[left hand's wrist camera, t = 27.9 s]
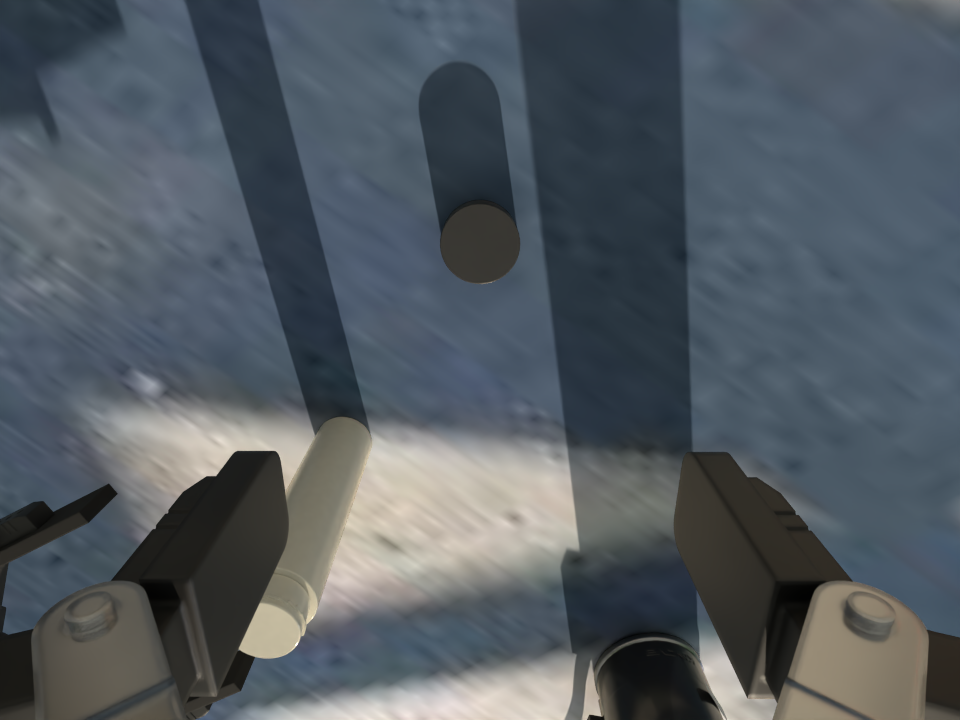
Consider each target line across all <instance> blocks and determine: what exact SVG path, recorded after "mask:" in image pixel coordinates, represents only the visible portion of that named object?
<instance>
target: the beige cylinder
mask: <svg viewBox="0 0 960 720" xmlns="http://www.w3.org/2000/svg"><path fill="white" fill-rule="evenodd" d="M371 448H372V439H371V435H370V433H369V431H368V430H367V428H366V427H365V426H364V425H363V424H362V423H360V422H359V421H357V420H355V419H352V418H348V417H336V418H332V419H330V420H328V421H326V422H325V423H324V424H322V426H321V427H320V428H319V430H318V432H317V434H316V436H315V438H314V439H313V441H312V443H311V445H310V447H309V449H308V451H307V453H306V454H305V456H304V458H303V460H302V462H301V464H300V466H299V468H298V469H297V471H296V473H295V475H294V477H293V479H292V481H291V483H290V484H289V486H288V488H287V490H286V492H285V494H286V501H287V508H288V515H289V532H288V539H287V543H286V547H285V549H284V552H283V554H282V556H281V558H280V560H279V563H278V565H277V567H276V569H275V571H274V573H273V576H272V578H271V580H270V582H269V584H268V586H267V588H266V591H265V593H264V595H263V597H262V599H261V601H260V604H259V606H258V608H257V610H256V612H255V614H254V617H253V619H252V621H251V623H250V625H249V627H248V630H247V632H246V634H245V636H244V638H243V640H242V643H241V645H240V647H239V650H241V651H242V652H244V653H246V654H248V655H251V656H254V657H259V658H276V657H280V656H283V655H286V654H287V653H289V652H291V651H292V650H293V649H294V648H295V647H296V646H297V644H298V643H299V640H300V638H301V636H304V633H305V630H306V627H307V626H306V624H307V623H308V622H310V621H311V619H312V618H313V617H314V615H315V613H316V611H317V608H318V605H319V602H320V599H321V596H322V593H323V590H324V588H325V585H326V582H327V579H328V576H329V573H330V570H331V567H332V564H333V561H334V558H335V555H336V552H337V549H338V546H339V543H340V540H341V537H342V534H343V531H344V528H345V525H346V522H347V519H348V516H349V513H350V511H351V508H352V505H353V502H354V499H355V496H356V493H357V490H358V487H359V484H360V481H361V478H362V475H363V472H364V469H365V466H366V463H367V460H368V457H369V454H370V451H371Z"/></svg>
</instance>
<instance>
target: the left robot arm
mask: <svg viewBox="0 0 960 720" xmlns="http://www.w3.org/2000/svg"><path fill="white" fill-rule="evenodd" d="M168 511H169V512H168V514H165V515H164V516H163V517H162V519H161V520H160V521H159V522H158V524H157V525H156V529H153V530H152V531H151V532H150V533H149V535H148V536H147V537H146V538H145V540H144V541H143V542H142V543H141V544H140V546H139V547H138V548H137V549H136V551H135V552H134V553H133V554H132V556H131V557H130V558H129V559H128V560H127V562H126V563H125V564H124V565H123V567H122V568H121V569H120V570H119V572H118V573H117V574H116V575H115V576H114V578H113V579H112V580H111V581H109V582H103V583H99V584H95V585H92V586H89V587H86V588H84V589H81V590H79V591H77V592H75V593H73V594H71V595H69V596H67V597H66V598H64V599H62V600H61V601H59V602H58V603H57V604H55V605H54V606H53V607H51V608H50V609H49V610H48V611H47V612H46V613H45V614H44V615H43V616H42V617H41V618H40V620H39V621H38V622H37V624H36V626H35V627H34V629H31V630H27V631H23V632H19V633H14V634H10V635H6V636H1V637H0V720H187V716H186V713H185V710H184V706H185V704H186V702H187V700H188V698H189V697H217V694H218V692H219V690H220V688H221V686H222V684H223V681H224V679H225V677H226V675H227V673H228V671H229V668H230V666H231V664H232V662H233V660H234V658H235V655H236V653H237V651H238V649H239V647H240V645H241V643H242V640H243V638H244V636H245V634H246V632H247V630H248V627H249V625H250V623H251V621H252V619H253V617H254V614H255V612H256V610H257V608H258V606H259V604H260V601H261V599H262V597H263V595H264V593H265V591H266V588H267V586H268V584H269V582H270V580H271V578H272V576H273V573H274V571H275V569H276V567H277V565H278V563H279V560H280V558H281V556H282V554H283V552H284V549H285V547H286V543H287V539H288V532H289V515H288V508H287V501H286V494H285V487H284V481H283V474H282V467H281V461H280V457H279V455H278V453H277V452H276V451H236V452H235V453H234V454H233V455H232V456H231V457H230V459H229V460H228V461H227V463H226V464H225V465H224V467H223V468H222V469H221V470H220V472H219V473H218V474H217V476H206V477H205V478H203V479H202V480H200V481H199V482H197V483H196V484H194V485H193V486H191V487H190V488H188V489H187V490H185V491H184V492H183V493H182V494H181V495H180V497H179V498H178V499H177V500H176V501H175V503H174V504H173V505H172V506H171V508H170V509H169V510H168ZM674 534H675V540H676V545H677V548H678V551H679V553H680V555H681V557H682V559H683V562H684V564H685V566H686V568H687V570H688V572H689V574H690V576H691V579H692V581H693V583H694V585H695V587H696V589H697V591H698V594H699V596H700V598H701V600H702V602H703V604H704V606H705V609H706V611H707V613H708V615H709V617H710V619H711V621H712V623H713V626H714V628H715V630H716V632H717V634H718V636H719V638H720V641H721V643H722V645H723V647H724V649H725V651H726V653H727V655H728V658H729V660H730V662H731V664H732V666H733V668H734V670H735V673H736V675H737V677H738V679H739V681H740V683H741V685H742V687H743V690H744V692H745V694H746V696H747V698H748V699H775V700H776V702H777V703H778V704H777V707H776V710H775V713H774V716H773V720H960V638H959V637H955V636H950V635H946V634H942V633H937V632H933V631H930V630H926V627H925V626H924V624H923V622H922V621H921V620H920V618H919V617H918V616H917V615H916V614H915V613H914V612H913V611H912V610H911V609H910V608H909V607H907V606H906V605H905V604H903V603H902V602H901V601H899V600H898V599H896V598H894V597H893V596H891V595H889V594H887V593H885V592H883V591H881V590H879V589H876V588H874V587H871V586H868V585H865V584H861V583H857V582H853V581H852V580H851V578H850V577H849V576H848V575H847V574H846V572H845V571H844V570H843V569H842V568H841V566H840V565H839V564H838V563H837V561H836V560H835V559H834V558H833V557H832V555H831V554H830V553H829V552H828V550H827V549H826V548H825V547H824V546H823V544H822V543H821V542H820V541H819V539H818V538H817V537H816V536H815V535H814V533H813V532H812V531H809V530H808V526H807V525H806V524H805V522H804V521H803V520H802V519H801V518H800V516H799V515H796V514H795V510H794V509H793V508H792V507H791V505H790V504H789V503H788V502H787V501H786V499H785V498H784V497H783V496H782V494H781V493H779V492H778V491H776V490H775V489H773V488H772V487H770V486H769V485H767V484H766V483H764V482H763V481H761V480H760V479H758V478H757V477H747V476H746V475H745V473H744V472H743V471H742V470H741V468H740V467H739V466H738V464H737V463H736V462H735V460H734V459H733V458H732V456H731V455H730V454H729V453H727V452H687V453H686V454H685V456H684V458H683V462H682V468H681V475H680V482H679V488H678V495H677V502H676V509H675V515H674ZM594 681H595V686H596V690H597V693H598V695H599V707H600V711H601V716H602V717H600V716H595V715H589V717H588V719H587V720H723V718H722V715H721V713H720V711H721V712H722V714H723V715H724V717H725V718H726V716H725V714H724V711H723V709H722V707H721V706H720V704H719V703H718V701H717V700H716V698H715V696H714V695H713V693H712V691H711V689H710V686H709V684H708V681H707V679H706V676H705V674H704V670H703V666H702V663H701V661H700V658H699V656H698V654H697V652H696V651H695V650H694V649H693V647H692V646H690V645H689V644H688V643H687V642H685V641H683V640H682V639H680V638H677V637H675V636H672V635H667V634H661V633H645V634H639V635H634V636H631V637H628V638H625V639H623V640H621V641H619V642H617V643H615V644H614V645H612V646H611V647H610V648H609V649H607V650H606V651H605V652H604V653H603V655H602V656H601V657H600V659H599V660H598V662H597V664H596V667H595V671H594ZM718 707H719V708H718ZM719 709H720V710H719ZM726 720H727V719H726Z"/></svg>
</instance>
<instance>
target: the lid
mask: <svg viewBox="0 0 960 720" xmlns="http://www.w3.org/2000/svg"><path fill="white" fill-rule="evenodd" d="M440 248H441V254H442V257H443V260H444V262H445V264H446V266H447V267H448V268H449V270H450V271H451V272H452V273H453V274H454V275H456V276H457V277H459V278H460V279H462V280H464V281H467V282H470V283H475V284H486V283H491V282H494V281H496V280H498V279H500V278H502V277H503V276H505V275H506V274H507V273H508V272H509V271H510V270H511V269H512V267H513V266H514V264H515V262H516V260H517V258H518V255H519V250H520V238H519V233H518V230H517V227H516V224H515V222H514V220H513V218H512V217H511V215H510V214H509V213H508V212H507V211H506V210H505V209H504V208H503V207H501V206H500V205H498V204H496V203H494V202H491V201H486V200H474V201H469V202H467V203H464V204H462V205H460V206H459V207H458V208H456V209H455V210H454V211H453V212H452V213H451V214H450V216H449V217H448V219H447V220H446V223H445V225H444V228H443V230H442V234H441V239H440Z"/></svg>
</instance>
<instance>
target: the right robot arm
mask: <svg viewBox="0 0 960 720" xmlns="http://www.w3.org/2000/svg"><path fill="white" fill-rule="evenodd" d="M116 495H117V492H116V491H115V490H114V489H113V488H112V487H111V486H110V484H107V485H105V486H104V487H102V488H100V489H98V490H96V491H94V492H92V493H90V494H88V495H86V496H84V497H82V498H80V499H78V500H76V501H74V502H72V503H70V504H68V505H66V506H64V507H62V508H60V509H58V510H56V511H54V512H53V511H52V510H51V509H50V508H49V507H48V506H47V505H46V504H45V503H44V501H40V502H33V503H31V504H29V505H27V506H26V507H23V508H21V509H19V510H17V511H15V512H14V513H12V514H10V515H8V516H6V517H4V518H2V519H0V637H1V636H6V635H8V634H6V633H3V632H2V631H3V625H4V619H5V613H6V607H3V606H2V600H3V594H4V588H5V582H6V575H7V569H8V563H9V562H11V561H13V560H15V559H17V558H19V557H21V556H23V555H25V554H27V553H29V552H31V551H33V550H35V549H37V548H39V547H41V546H43V545H45V544H47V543H49V542H51V541H53V540H55V539H57V538H59V537H61V536H63V535H65V534H67V533H69V532H71V531H73V530H75V529H77V528H79V527H81V526H83V525H85V524H87V523H89V522H90V521H91V520H92V519H93V518H94V517H95V516H96V515H97V514H98V513H99V512H100V511H101V510H102V509H103V508H104V507H105V506H106V505H107V504H108V503H109V502H110V501H111V500H112V499H113V498H114V497H115V496H116ZM254 658H255V657H254V656H251V655H248V654H246V653H244V652H242V651H241V650H240V651H237V653H236V655H235V658H234V660H233V662H232V664H231V666H230V668H229V671H228V673H227V675H226V677H225V679H224V681H223V684H222V686H221V688H220V690H219V692H218V694H217V697H189V698H188V700H187V702H186V704H185V706H184V710H185V713H186V716H187V720H195V719H198V718H200V717H202V716H205V714H206V713H207V712H208V711H209V710H210V707H211V705H212V703H213V702H216V701H218V700H221V699H223V698H225V697H228V696H230V695H232V694H235V693H237V692H239V691H241V689H242V687H243V684H244V682H245V680H246V677H247V675H248V673H249V670H250V668H251V665H252V663H253V661H254Z"/></svg>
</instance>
